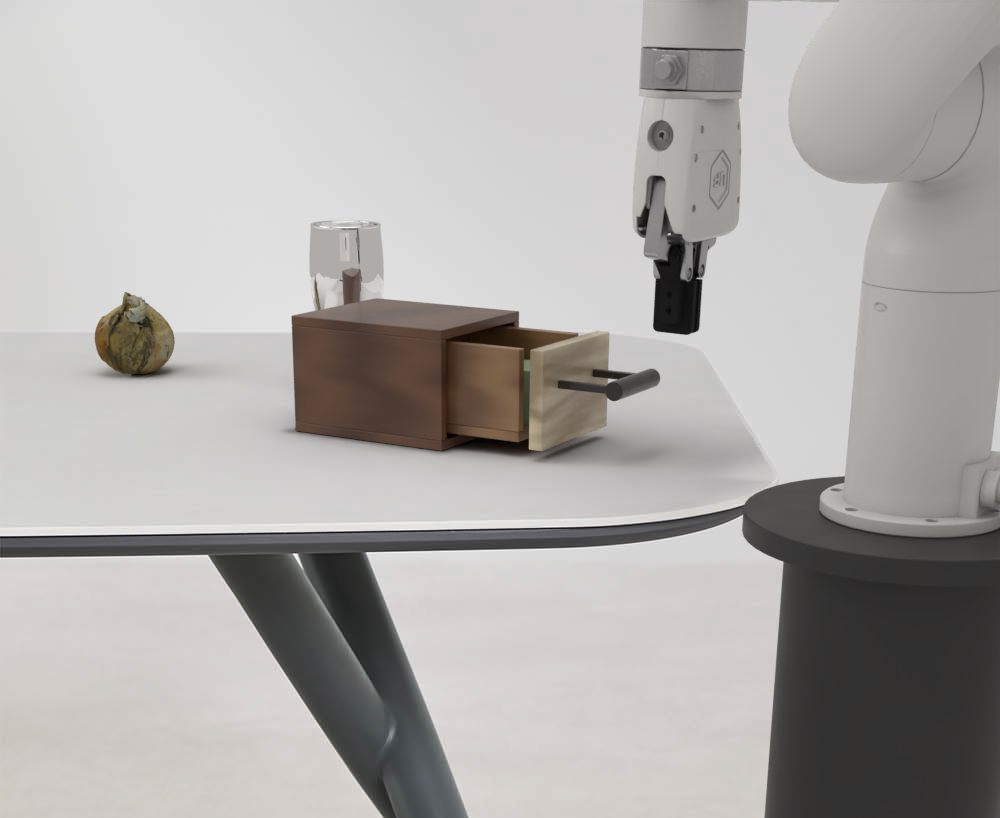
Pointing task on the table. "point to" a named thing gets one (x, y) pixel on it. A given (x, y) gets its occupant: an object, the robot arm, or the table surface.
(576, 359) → the drawer
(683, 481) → the table surface
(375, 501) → the table surface
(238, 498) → the table surface
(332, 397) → the cabinet
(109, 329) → the onion
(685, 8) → the robot arm
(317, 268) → the beer glass
